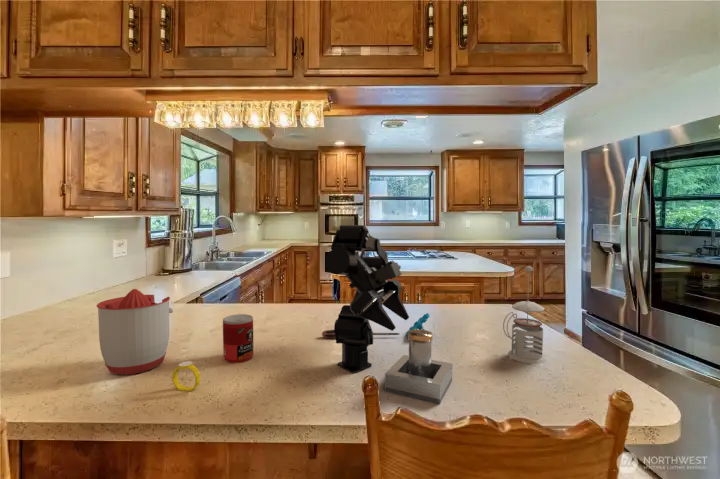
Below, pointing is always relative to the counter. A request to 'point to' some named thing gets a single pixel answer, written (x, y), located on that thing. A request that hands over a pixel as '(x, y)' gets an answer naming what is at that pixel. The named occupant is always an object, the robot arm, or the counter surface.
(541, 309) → the french press
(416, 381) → the collar
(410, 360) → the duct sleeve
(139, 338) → the citrus juicer
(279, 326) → the counter surface
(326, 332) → the screwdriver
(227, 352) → the canned food
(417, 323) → the teal bumpy piece
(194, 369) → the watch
